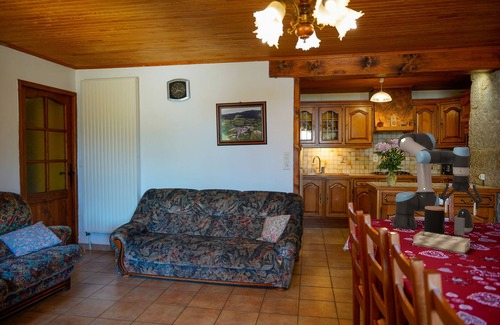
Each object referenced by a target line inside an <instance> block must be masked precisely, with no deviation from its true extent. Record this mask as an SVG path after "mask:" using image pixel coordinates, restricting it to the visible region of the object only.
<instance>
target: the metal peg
mask: <svg viewBox="0 0 500 325" xmlns="http://www.w3.org/2000/svg"><path fill="white" fill-rule="evenodd" d="M464 225H465V218H458V217H454V227H453V228H454V231H453V232H454V233H453V234H454V235H455V236H456V237H461V238H462V236H464V235H465V232H464Z"/></svg>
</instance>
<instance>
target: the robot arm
mask: <svg viewBox="0 0 500 325" xmlns="http://www.w3.org/2000/svg"><path fill="white" fill-rule="evenodd" d="M397 146H398V148H399V149H400V150H402V151H403V152H408V153H409V154H411V155H412V156H414V157H415V162H416V163H415V165H416V179H417V190H416V191H415V192H413V191H405V192H399V193H397V194H396V195H395V199H394V200H395V201H394V202H395V210H394V212H395V213H394V214H395V215H394V217H393V220H392V227H393V228H395V229H396V228H397V229H400V230H401V229H403V230H415V229H418V224H417V221H416V217H415V212H416V213H417V212H419V213H420V212H421V213H424V212H425V210H426V209H425V206H437V207H440V200H442V206H443V207H444V208H445V210H444V212H445V213H448V204H449V202H448V201H449V200H448V199H449V198H450V197H451V196H452V195H453V194H454V193H455V192H456V193H466V194H467V195H468V196H469V197H470V198H471V199H472V200H473V202H474V203H473V216H476V215H477V210H478V209H480V203H483V202H484V200H483V198H482V197H481V195H480V193H479V191H478V189H477V185H476V184H470V160H471V153H470V147H467V146H465V147H464V146H462V147H459V146H457V147H454V148H453V150H434V149H435V148H436V138H435V136H434V135H433V134H432V133H428V132H414V133H413V132H408V133H404V134H402V135H400V137H399V138H398V140H397ZM433 164H435V165H452V169H453V170H452V175H453V176H452V183H449V182H448V183H445V184H446V185H445V187H444V189H443V191H442V193H441V194H440V196H439V195H438V194H436V190H435V191H434V189H433V182H432V166H431V165H433ZM451 187H452V188H453V189H452V190H451V191H450V192H449V193H447V192H448V191H449V189H450V188H451ZM470 188H471V189H472V191H473V193H474V194H475V195H474V194H473V193H472V192H471V191H470ZM446 194H447V195H446Z"/></svg>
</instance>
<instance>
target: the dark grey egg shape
mask: <svg viewBox="0 0 500 325" xmlns="http://www.w3.org/2000/svg"><path fill="white" fill-rule="evenodd" d="M456 217H458V218H465V225H464V234H465V233H470V232H472V231H473V228H474V220H473V216H472V213H471V211H470V210H469V209H468V208H466V207H463V208H461V207H459V210H458V211H457V214H456ZM456 217H455V218H456Z"/></svg>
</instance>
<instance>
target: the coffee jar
mask: <svg viewBox="0 0 500 325" xmlns="http://www.w3.org/2000/svg"><path fill="white" fill-rule="evenodd" d="M425 209H426V210H425V212H423V213H424V215H423V219H424V221H423V232H429V233H435V234H442V235H445V227H446V226H445V224H446V223H445V222H446V212H445V207H444V206H443V207H442V206H439V207H437V206H425Z"/></svg>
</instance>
